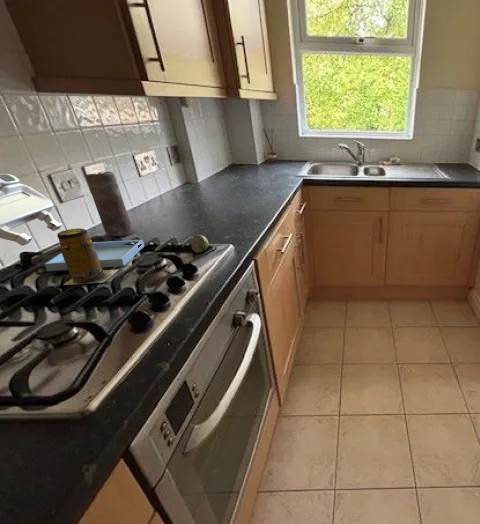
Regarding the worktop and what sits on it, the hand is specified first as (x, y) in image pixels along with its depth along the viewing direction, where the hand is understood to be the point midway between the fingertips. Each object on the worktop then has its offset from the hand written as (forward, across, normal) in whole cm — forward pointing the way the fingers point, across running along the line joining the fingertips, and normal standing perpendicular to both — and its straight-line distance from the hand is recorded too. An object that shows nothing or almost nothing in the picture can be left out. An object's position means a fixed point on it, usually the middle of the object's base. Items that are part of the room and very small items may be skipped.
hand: (44, 234), depth 75 cm
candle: (+6, +33, +10) cm, 36 cm away
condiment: (+13, +1, +4) cm, 13 cm away
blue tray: (+9, +14, +8) cm, 18 cm away
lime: (+28, +15, -11) cm, 33 cm away
